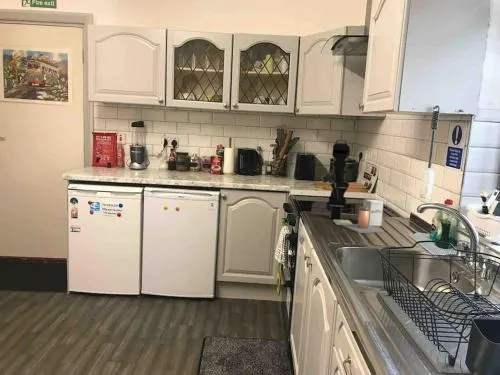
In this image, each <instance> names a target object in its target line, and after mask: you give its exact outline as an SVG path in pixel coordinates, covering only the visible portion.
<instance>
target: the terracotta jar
mask: <svg viewBox="0 0 500 375" xmlns="http://www.w3.org/2000/svg"><path fill="white" fill-rule="evenodd" d="M358 208H359V209H358V221H357V224H358V228H362V229H367V228H368V222H369V210H370V208H369V207H363V206H359V207H358Z"/></svg>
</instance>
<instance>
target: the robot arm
mask: <svg viewBox="0 0 500 375" xmlns="http://www.w3.org/2000/svg"><path fill="white" fill-rule="evenodd" d="M348 144H349V143H348V142H347V141H346V139H336V141H335V142H334V144H333V145H332V152H331V153H332V156H331V157H333V169H332V170H331V172H330V173H325V174H323V175H321V176H320V177H321V181H322V183H324V184H325V183H328V185H329V186H330V187H331V189H332V190H331V192H330V195H329V196H328V208H330V215H329V216H328V218H329V219H330V220H344V218H343V217H342V210H343V209H346V207H347V206H346V204H347V199H346V197H345V194H346V192H347V190H348V189H349V188H350V182H348V181H347V180H346V179H345V177H346V176H345V175H346V173H347V170H346V165H347V158H349V157H350V156H351V154H350V153H351V147H350V145H348Z"/></svg>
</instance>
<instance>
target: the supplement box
mask: <svg viewBox="0 0 500 375" xmlns="http://www.w3.org/2000/svg"><path fill="white" fill-rule="evenodd" d="M363 207H369V208H370V210H369V222H368V225H371V226H373V227H378V226H379V227H381V226H382V222H383V221H382V220H383V211H384V210H383V209H384V201H382V200H378V199H363Z"/></svg>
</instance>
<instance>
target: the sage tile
mask: <svg viewBox="0 0 500 375" xmlns="http://www.w3.org/2000/svg"><path fill="white" fill-rule="evenodd" d="M332 222H333V223H335V225H338V226H343V225H354V223H352V222H351V220H348V219H343V220H339V219H332Z"/></svg>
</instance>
